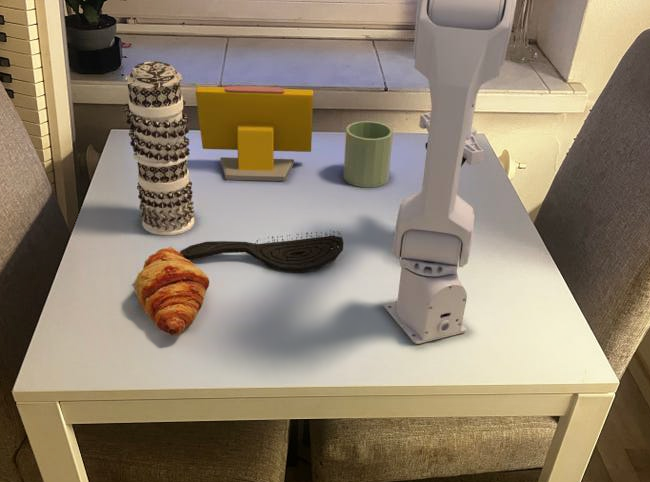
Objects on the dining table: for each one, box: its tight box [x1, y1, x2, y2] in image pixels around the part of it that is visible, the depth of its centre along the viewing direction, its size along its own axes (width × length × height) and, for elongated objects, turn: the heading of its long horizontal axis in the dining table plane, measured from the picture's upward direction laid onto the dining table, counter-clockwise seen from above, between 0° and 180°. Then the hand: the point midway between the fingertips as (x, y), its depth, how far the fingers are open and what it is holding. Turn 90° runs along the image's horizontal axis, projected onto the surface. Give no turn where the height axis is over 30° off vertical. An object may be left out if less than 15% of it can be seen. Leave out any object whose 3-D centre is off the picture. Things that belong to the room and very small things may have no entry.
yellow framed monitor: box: [195, 85, 314, 182], centre depth 136 cm, size 20×8×16 cm, turn 91°
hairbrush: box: [179, 229, 345, 273], centre depth 116 cm, size 8×4×25 cm
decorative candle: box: [124, 61, 195, 236], centre depth 117 cm, size 9×9×25 cm
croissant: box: [134, 246, 210, 336], centre depth 106 cm, size 21×10×8 cm, turn 12°
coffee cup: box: [343, 120, 394, 188], centre depth 138 cm, size 8×8×9 cm
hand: (442, 189), depth 117 cm, fingers closed
